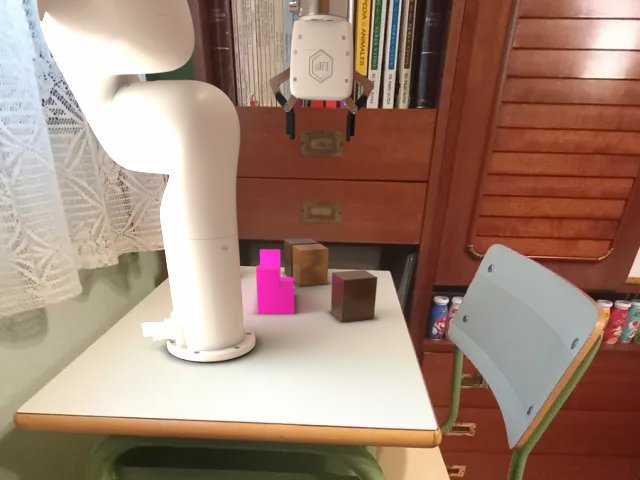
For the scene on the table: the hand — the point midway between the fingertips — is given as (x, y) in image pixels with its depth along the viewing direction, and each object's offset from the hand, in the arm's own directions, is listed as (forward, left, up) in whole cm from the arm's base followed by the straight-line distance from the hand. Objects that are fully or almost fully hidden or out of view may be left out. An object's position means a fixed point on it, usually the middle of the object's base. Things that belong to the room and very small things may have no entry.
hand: (320, 140), depth 83 cm
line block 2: (0, -18, -26) cm, 31 cm away
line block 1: (0, +10, -26) cm, 28 cm away
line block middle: (0, +4, -26) cm, 26 cm away
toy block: (-10, -6, -26) cm, 28 cm away
